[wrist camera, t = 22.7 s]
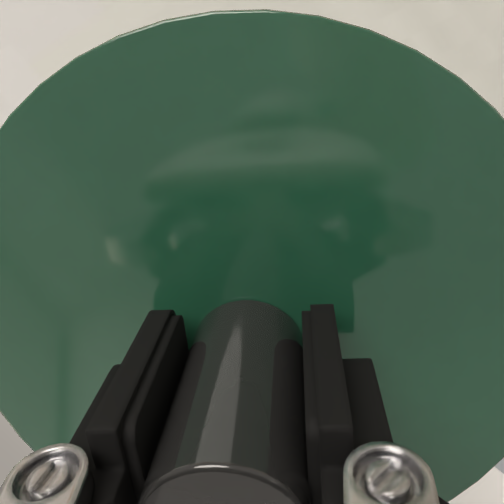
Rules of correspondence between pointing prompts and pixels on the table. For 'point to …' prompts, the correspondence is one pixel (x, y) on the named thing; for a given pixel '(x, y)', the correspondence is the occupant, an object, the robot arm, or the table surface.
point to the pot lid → (256, 244)
